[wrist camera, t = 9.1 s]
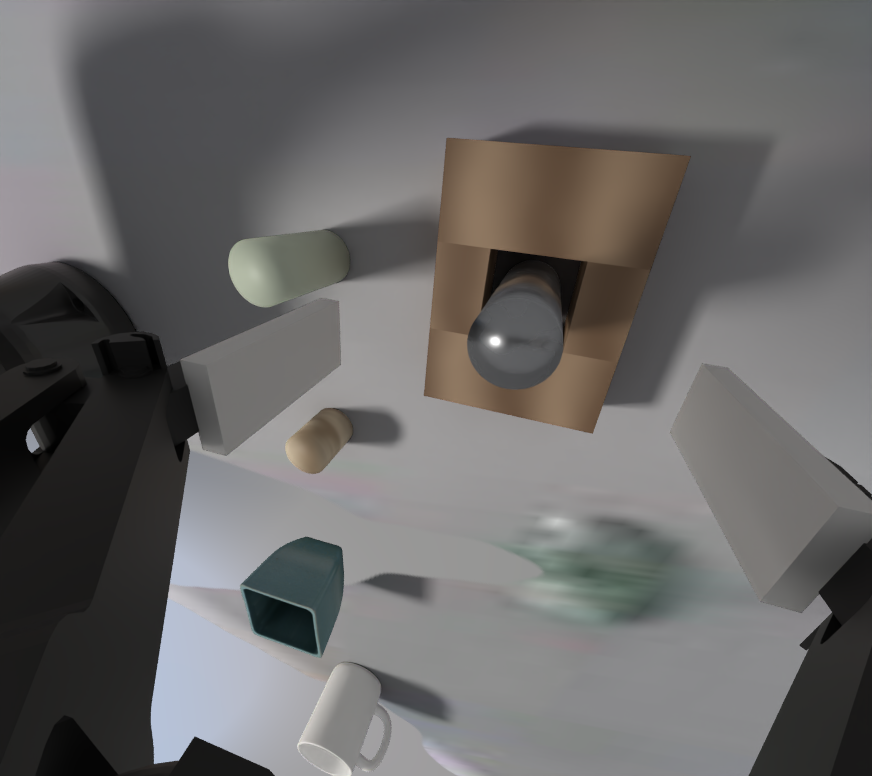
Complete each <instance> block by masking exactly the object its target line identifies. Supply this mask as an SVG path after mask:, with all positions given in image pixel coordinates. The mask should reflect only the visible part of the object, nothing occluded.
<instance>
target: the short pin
mask: <svg viewBox="0 0 872 776" xmlns="http://www.w3.org/2000/svg"><path fill="white" fill-rule="evenodd" d="M352 434H353V427H352V424H351V422H350V420H349V418H348V417H347V416H346V415H345V414H344V413H342V412H341V411H339V410H337V409H334V408H325V409H323V410H321V411H320V412H319V413H318V414H317V415H315V416H314V417H313V418H312V419H311V420H310V421H309V422H308V423H306V424H305V425H304V426H303V427H302V428H301V429H300V430H299V431H297V432H296V433H295V434H294V435H293V436H292V437H291V438H289V439H288V441H287V442H286V446H285V450H286V454H287V456H288V458H289V460H290V461H291V462H292V464H293V465H294V466H296V467H297V468H298V469H300V470H302V471H304V472H306V473H311V474H316V473H319V472H321V471H322V470H323V469H324V468H325V467H326V466H327V465H328V463H329V462H330V461H331V460H332V459H333V458H334V457H335V455H336V454H337V453H338V452H339V451H340V450H341V449H342V447H343V446H344V445H345V444H346V443H347V442H348V441H349V439H350V438H351V437H352Z"/></svg>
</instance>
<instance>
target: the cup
mask: <svg viewBox="0 0 872 776" xmlns="http://www.w3.org/2000/svg"><path fill="white" fill-rule="evenodd" d="M380 694H381V684H380V682H379V680H378V679H377V677H376V676H375V675H374V674H373V673H371V672H370V671H369V670H367V669H366V668H364V667H362V666H360V665H357V664H354V663H350V662H343V663H340V664H338V665H337V666H336V667H335V668H334V670H333V672H332V673H331V675H330V677H329V680H328V682H327V684H326V686H325V688H324V690H323V692H322V694H321V696H320V698H319V701H318V703H317V705H316V707H315V709H314V711H313V713H312V715H311V717H310V720H309V722H308V724H307V726H306V728H305V730H304V732H303V734H302V736H301V738H300V740H299V743H298V745H297V748H298V751H299V752H300V754H301V755H302V756H303V757H304V758H305V759H306V760H307V761H308V762H310V763H311V764H312V765H314V766H315V767H317V768H318V769H320V770H322V771H324V772H326V773H329V774H331V775H334V776H351V775H352V773H353V771H354V768H355V765H356V766H357V767H358V768H360V769H361V770H363V771H366V772H371V771H373V770H375V769H376V768H377V767H378V766H379V764H380V763H381V761H382V759H383V757H384V755H385V753H386V750H387V748H388V745H389V742H390V737H391V720H390V717H389V715H388V713H387V711H386V710H385V709H384V708H383V707H382V706H380V705H379V704H378V700H379V697H380ZM373 714H375V715H376V716H378V717H379V718H380V719H381V720H382V721H383V723H384V736H383V740H382V743H381V746H380V748H379V751H378V752H377V754H376V756H375V757H374V758H373V759H372V760H368V759H366V758H365V757H364V756H363V755H362V754H361V753H360V751H361V748H362V745H363V743H364V739H365V737H366V734H367V731H368V729H369V725H370V723H371V720H372V717H373Z"/></svg>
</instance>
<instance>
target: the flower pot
mask: <svg viewBox="0 0 872 776" xmlns="http://www.w3.org/2000/svg"><path fill="white" fill-rule="evenodd" d="M343 587H344V568H343V555H342V549H341V547H339V546H337V545H333V544H330V543H326V542H323V541H320V540H316V539H313V538H309V537H304V538H300V539H297V540H295V541H292V542H290V543H287V544H286V545H284V546H282V547H280V548H279V549H278V550H276V551H275V552H274V553H273V554H272V555H271V556H269V557H268V558H267V559H266V560H265V561H264V562H263V563H262V564H261V565H260V566H259V567H258V568H257V569H256V570H255V571H254V572H253V573H252V574H251V575H250V576H249V577H248V578H247V579H246V580H245V581H244V582H243V583H242V584H241V585H240V589H241V593H242V597H243V600H244V603H245V606H246V610H247V614H248V618H249V621H250V626H251V629H252V631H253V633H254V634H255V635H258V636H260V637H263V638H265V639H268V640H271V641H274V642H277V643H279V644H282V645H285V646H288V647H291V648H293V649H296V650H299V651H301V652H304V653H307V654H309V655H312V656H314V657H319V658H321V657H322V655H323V652H324V650H325V647H326V645H327V642H328V640H329V637H330V635H331V632H332V629H333V627H334V624H335V621H336V619H337V616H338V613H339V610H340V606H341V601H342V596H343Z"/></svg>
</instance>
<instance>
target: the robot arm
mask: <svg viewBox="0 0 872 776" xmlns="http://www.w3.org/2000/svg"><path fill="white" fill-rule="evenodd" d="M340 365H341V349H340V317H339V301H335V300H329V299H323V298H321V299H318V300H316V301H314V302H311V303H309V304H307V305H305V306H302V307H300V308H298V309H295V310H293V311H291V312H288V313H286V314H284V315H282V316H279V317H277V318H275V319H272V320H270V321H268V322H265V323H263V324H261V325H258V326H256V327H254V328H252V329H249V330H247V331H245V332H242V333H240V334H238V335H235V336H233V337H231V338H229V339H226V340H224V341H222V342H219V343H217V344H215V345H212V346H210V347H208V348H206V349H203V350H201V351H199V352H196V353H194V354H192V355H189V356H187V357H185V358H182V359H180V361H179V362H177V363H175V364H173V365H170V366H168V367H167V365H166V362H165V358H164V354H163V351H162V347H161V344H160V340H159V336H157V335H155V334H153V333H146V332H136V331H135V329H134V327H133V325H132V324H131V322H130V320H129V319H128V317H127V315H126V314H125V312H124V311H123V309H122V308H121V307H120V305H119V304H118V303H117V302H116V300H115V299H114V298H113V297H112V296H111V295H110V294H109V293H108V292H107V291H106V290H105V289H104V288H103V287H102V286H101V285H100V284H99V283H98V282H97V281H95V280H94V279H93V278H91V277H90V276H89V275H87V274H86V273H84V272H82V271H81V270H79V269H77V268H75V267H72V266H70V265H67V264H63V263H58V262H49V263H41V264H33V265H26V266H22V267H19V268H16V269H14V270H12V271H9V272H7V273H5V274H3V275H1V276H0V776H275V775H273V773H272V772H271V771H270V770H269V769H267V768H264V767H262V766H260V765H258V764H256V763H253V762H251V761H249V760H246V759H244V758H242V757H240V756H237V755H235V754H233V753H231V752H228V751H226V750H224V749H222V748H220V747H217V746H215V745H213V744H210V743H208V742H206V741H204V740H202V739H199V738H197V737H194V739H193V740H192V741H191V743H190V745H189V746H188V748H187V749H186V751H185V752H184V754H183V755H182V757H181V758H180V760H179V761H172V762H165V763H158V764H154V747H153V738H152V730H151V703H152V696H153V690H154V684H155V677H156V670H157V664H158V657H159V651H160V644H161V638H162V631H163V624H164V617H165V611H166V605H167V598H168V592H169V585H170V578H171V571H172V565H173V559H174V552H175V545H176V539H177V532H178V526H179V519H180V513H181V506H182V500H183V493H184V486H185V480H186V473H187V467H188V460H189V454H190V449H189V445H188V441H187V439H188V438H190V437H191V436H193V435H194V434H196V433H197V432H198V433H199V436H200V440H201V444H202V448H203V450H206V451H210V452H214V453H217V454H221V455H225V456H227V455H228V454H229V453H231V452H232V451H233V450H234V449H236V448H237V447H238V446H239V445H241V444H242V443H243V442H244V441H246V440H247V439H248V438H249V437H251V436H252V435H253V434H254V433H256V432H257V431H258V430H259V429H261V428H262V427H263V426H264V425H266V424H267V423H268V422H269V421H271V420H272V419H273V418H274V417H276V416H277V415H278V414H279V413H281V412H282V411H283V410H284V409H286V408H287V407H288V406H289V405H291V404H292V403H293V402H294V401H296V400H297V399H298V398H299V397H301V396H302V395H303V394H304V393H306V392H307V391H308V390H310V389H311V388H312V387H313V386H315V385H316V384H317V383H318V382H320V381H321V380H322V379H323V378H325V377H326V376H327V375H328V374H330V373H331V372H332V371H333V370H335V369H336V368H337V367H338V366H340ZM30 428H31V430H32V432H33V434H34V436H35V438H36V440H37V442H38V443H39V446H40V447H39V448H38V449H36V450H35V451H34V452H33V453H31V452H30V451H29V450H28V447H27V443H26V436H27V432H28V430H29V429H30ZM670 433H671V435H672V437H673V439H674V441H675V443H676V445H677V447H678V448H679V450H680V452H681V454H682V456H683V458H684V460H685V462H686V464H687V465H688V467H689V469H690V471H691V473H692V475H693V477H694V479H695V480H696V482H697V484H698V486H699V488H700V490H701V492H702V494H703V495H704V497H705V499H706V501H707V503H708V505H709V507H710V509H711V510H712V512H713V514H714V516H715V518H716V520H717V522H718V524H719V525H720V527H721V529H722V531H723V533H724V535H725V537H726V539H727V541H728V542H729V544H730V546H731V548H732V550H733V552H734V554H735V556H736V557H737V559H738V561H739V563H740V565H741V567H742V569H743V571H744V572H745V574H746V576H747V578H748V580H749V582H750V584H751V586H752V587H753V589H754V591H755V593H756V595H757V597H758V599H759V601H760V602H763V603H767V604H771V605H774V606H778V607H782V608H785V609H789V610H793V611H796V612H800V613H802V612H803V611H804V610H805V609H806V608H807V607H808V606H809V605H810V604H811V602H812V601H813V600H814V599H815V598H816V597H817V596H818V595H819V594H820V595H821V597H822V598H823V599H824V601H825V602H826V604H827V605H828V607H829V608H830V609H831V611H832V613H831V614H830V615H829V616H828V617H827V618H826V619H825V620H824V621H823V622H822V623H821V624H820V625H819V626H818V627H817V628H816V629H815V630H814V631H813V632H812V633H811V634H810V635H809V636H808V637H807V638H806V639H805V640H804V641H803V642H802V643H801V644H800V646H801V647H802V648H804V649H805V650H808V649H809V650H808V652H807V654H806V656H805V658H804V660H803V662H802V664H801V667H800V669H799V671H798V673H797V675H796V677H795V679H794V681H793V683H792V685H791V688H790V690H789V692H788V694H787V696H786V698H785V700H784V702H783V704H782V707H781V709H780V711H779V713H778V715H777V717H776V719H775V721H774V723H773V725H772V728H771V730H770V732H769V734H768V736H767V738H766V740H765V742H764V744H763V746H762V749H761V751H760V753H759V755H758V757H757V759H756V761H755V763H754V765H753V768H752V770H751V772H750V774H749V776H872V497H871V495H872V494H871V493H869V492H868V491H867V490H866V489H865V488H864V487H863V486H862V485H859V484H857V483H858V482H857V481H856V480H855V479H854V478H853V477H852V476H851V475H850V474H848V473H847V472H846V471H845V470H844V469H843V468H842V467H841V466H839V465H837V464H836V463H834V462H832V461H831V460H829V459H828V458H826V457H824V456H823V455H822V454H821V453H820V452H819V451H818V450H816V449H815V448H814V447H813V446H812V445H811V444H810V443H809V442H808V441H807V440H806V439H805V438H803V437H802V436H801V435H800V434H799V433H798V432H797V431H796V430H795V429H794V428H793V427H792V426H790V425H789V424H788V423H787V422H786V421H785V420H784V419H783V418H782V417H781V416H780V415H779V414H777V413H776V412H775V411H774V410H773V409H772V408H771V407H770V406H769V405H768V404H767V403H765V402H764V401H763V400H762V399H761V398H760V397H759V396H758V395H757V394H756V393H755V392H754V391H752V390H751V389H750V388H749V387H748V386H747V385H746V384H745V383H744V382H743V381H742V380H741V379H739V378H738V377H737V376H736V375H735V374H734V373H733V372H732V371H731V370H730V369H729V368H726V367H720V366H714V365H709V364H703V363H702V365H701V367H700V369H699V371H698V373H697V375H696V378H695V380H694V382H693V384H692V386H691V388H690V390H689V392H688V394H687V397H686V399H685V401H684V403H683V405H682V407H681V409H680V411H679V413H678V416H677V418H676V420H675V422H674V424H673V426H672V428H671V430H670Z"/></svg>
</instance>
